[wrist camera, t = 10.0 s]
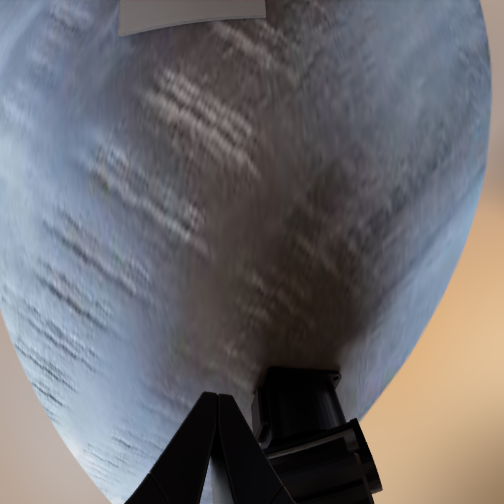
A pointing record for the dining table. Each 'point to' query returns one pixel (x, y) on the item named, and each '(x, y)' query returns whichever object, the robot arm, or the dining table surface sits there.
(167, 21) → the charcoal mat
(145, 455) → the dining table surface
